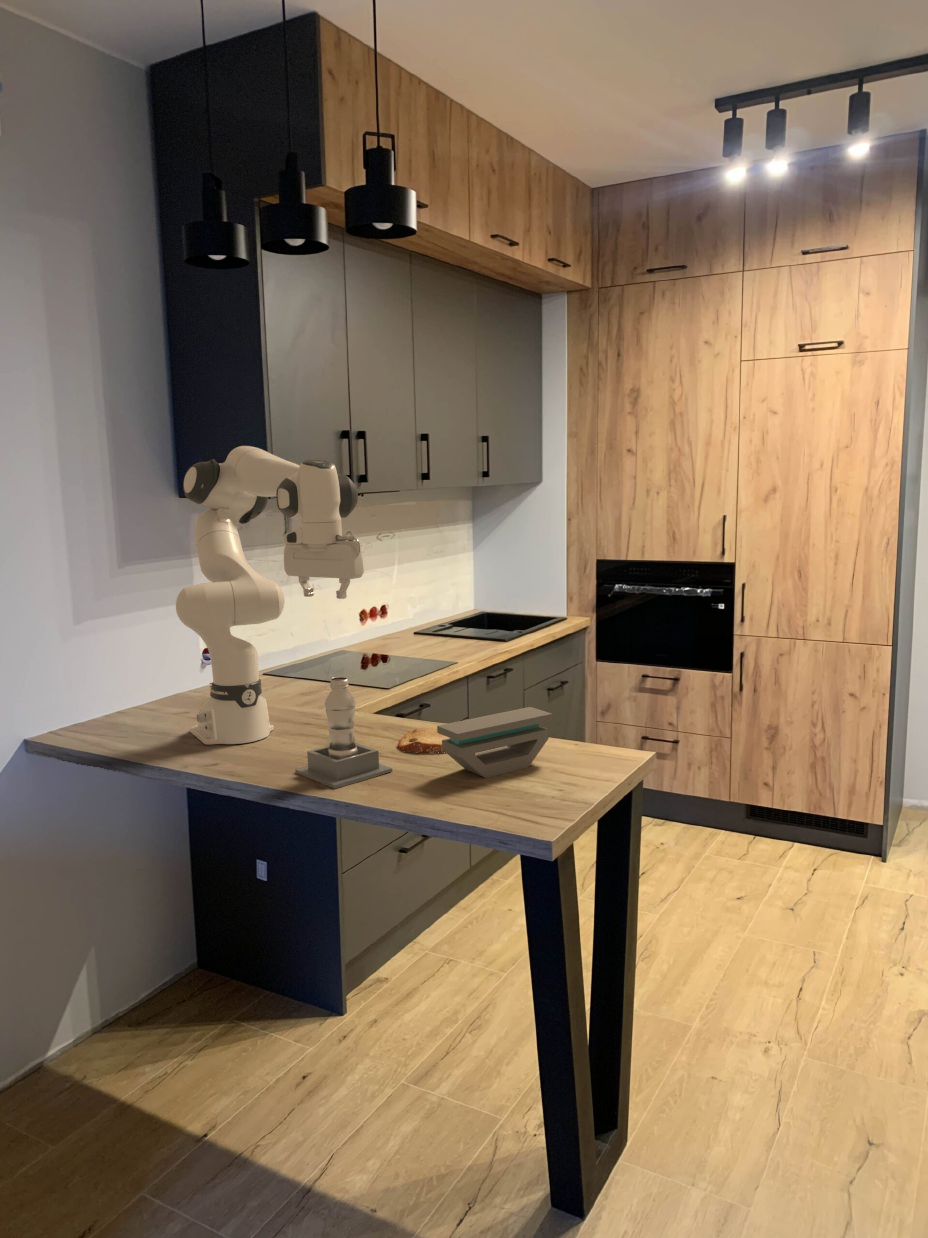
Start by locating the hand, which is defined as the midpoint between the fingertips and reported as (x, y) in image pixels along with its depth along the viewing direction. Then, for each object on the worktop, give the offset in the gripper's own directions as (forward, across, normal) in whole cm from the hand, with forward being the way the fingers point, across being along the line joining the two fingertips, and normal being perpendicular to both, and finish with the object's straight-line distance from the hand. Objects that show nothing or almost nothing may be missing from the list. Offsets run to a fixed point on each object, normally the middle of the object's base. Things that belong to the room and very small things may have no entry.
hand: (325, 597), depth 207 cm
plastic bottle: (+36, -8, +7) cm, 38 cm away
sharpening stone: (+37, -36, -11) cm, 53 cm away
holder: (+37, -8, +7) cm, 39 cm away
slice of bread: (+38, -16, -21) cm, 46 cm away
